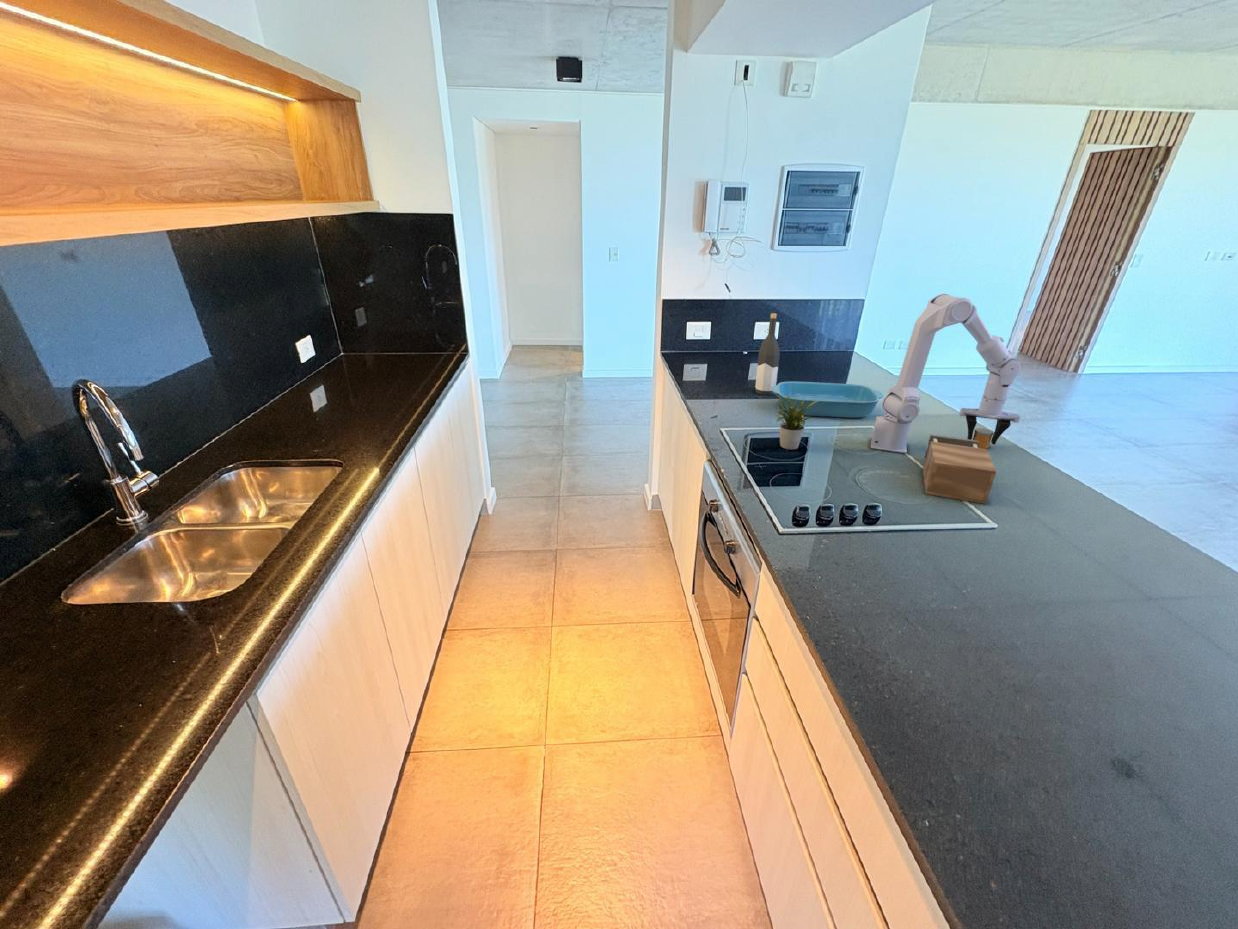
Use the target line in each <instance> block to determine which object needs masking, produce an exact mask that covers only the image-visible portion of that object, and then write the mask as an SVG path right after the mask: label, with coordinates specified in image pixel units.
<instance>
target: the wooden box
mask: <svg viewBox="0 0 1238 929" xmlns="http://www.w3.org/2000/svg"><path fill="white" fill-rule="evenodd" d="M996 474H997V470H996V467H995V465H994V462H993V461H992V458H991V455H990V453H989V451H988V448H986V449H982V448H975V447H968V446H960V445H953V444H946V443H939V442H930V446H929V449H928V453H927V457H926V458H925V461H924V465H923V469H922V475H923V482H924V489H925V490H924V491H925V494H926V495H931V496H936V497H943V498H948V499H954V500H960V501H965V502H971V503H975V504H976V503H977V504H983V505H986V504H987V503H988V500H989V496H990V492H991V490H992V486H993V484H994V482H995V477H996Z"/></svg>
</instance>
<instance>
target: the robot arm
mask: <svg viewBox="0 0 1238 929" xmlns="http://www.w3.org/2000/svg"><path fill="white" fill-rule="evenodd" d="M958 324H961V325H962V326H963V327H964V329H966V331H967V332H968V333H969V334H970V335H971V336H972V338H973V340H975V341H976V342H977V343H976V346H975V349H976V351H977V352H978V354H979V356H980V357H981V358H982V359H983V361H984V362H985V370H986V371H987V372H989V374H988V377H987V380H986V384H985V387H984V390H983V393H982V397H981V400H980V403H979V407H978V408H969V407H968V408H967V407H960V409H959V413H958V415H959V416H960V417H965V419H966V425H967V438H966V439H970V440H972V439H973V436H974V431H975V429H976V426H977V423H978V421H977V418H978V419H979V418H980V419H989V420H996V424H995V429H994V431H993V435H992V437H991V440H990V443H991V445H996V443H997V441H998V439H999V438H1000V437H1001V436H1002V435H1003V434H1004V433H1005V432H1006V430H1008V429H1009V428H1010V427H1011V426H1012V425H1011V424H1012V423H1015V424H1019V423H1020V419H1021V415H1020V414H1018V413H1011V412H1006V411H1004V408H1005V405H1006V402H1007V399H1008V395H1009V392H1010V389H1011V386H1012V384H1013V383H1014V382H1015V379H1016V378H1017V377H1018V376H1019V375H1020V373H1021V372H1022V370H1023V368H1022V366H1021V362H1020V360H1019V359H1018V358H1015V357H1013V356H1012V354H1013V352H1012V350H1010V349H1008V348H1007V347H1006V345H1005V344H1004V342H1005V340H1004V338H1003V337H1001V336H999V335H995V334H993V335H992V334H991V333H990V331H989V329H988V328H987V326H986V325H985V323H984V321H983V319H982V318H981V316H980V315H979V313H978V309H977V306H975V305H974V304H973V302H972V301H971V300H970V298H967V297H959V296H953V295H950V294H948V293H941V294H938V295H936V296H934V297H932V298H931V299H929V300H928V301H927V303H926V308H924V310H923V311H922V312H921V314H920V315H919V316H918V317H917V319H916V320H915V322H914V325H913V328H912V332H911V335H910V339H909V343H908V345H907V348H906V351H905V355H904V359H903V362H902V366H901V369H900V373H899V376H898V380H897V382H896V384H895V385H893V386H891V387H890V388H889V389H888V393H887V394H886V395H885V397H884V398H883V399H882V403H881V406H882V409H883V410H884V413H883V414H884V415H883V416H882V415H881V416H880V415H877V416H876V417H875V422H874V425H873V430H872V433H871V436H870V449H875V450H881V451H888V452H894V453H900V454H907V452H908V450H907V448H908V447H907V441H908V436H909V432H910V428H911V424H912V423H913V421H914V420H915V419H916V418H917V417H918V416H919V414H920V400H921V396H920V392H919V387H920V386H919V385H920V383H921V380H922V377H923V373H924V370H925V367H926V364H927V361H928V357H929V354H930V351H931V348H932V344H933V342H934V339H935V336H936V333H937V332H939V331H941V330H942V329H944V328H946V327H949V326H950V327H951V326H953V325H958ZM1011 422H1012V423H1011Z"/></svg>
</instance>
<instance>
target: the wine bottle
mask: <svg viewBox="0 0 1238 929" xmlns="http://www.w3.org/2000/svg"><path fill="white" fill-rule="evenodd" d="M777 315H778V314H777V313H774V312H773V313H770V317H769V324H768V332H767V335H766V337H765V338H764V340H763V342H762V343H761V345H760V347H759V351H758V356H757V357H758V359H757V366H756V367H757V368H756V376H755V384H754V385H755V386H754V391H755V394H759V395H764V396H770V395H774V394H773V392H772V387H774V386H776V385H777V380H778V372H779V363H780V358H781V357H780V356H781V354H780V353H781V352H780V346H779V343H778V340H777V337H776V327H777V320H778V318H777ZM755 388H756V389H755Z"/></svg>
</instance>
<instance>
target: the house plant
mask: <svg viewBox="0 0 1238 929" xmlns="http://www.w3.org/2000/svg"><path fill="white" fill-rule="evenodd" d="M772 395H776V396H777V397H778V399H779V398H780V399H781V397H780V396H778V394H774V393H773V394H772ZM786 397H787V400H788V404H789V413H788V411H787V409H786V407H785V404H784V402H783V400H782V399H781V401H782V403H781V402H780V401H779V400H776V402H778V403H779V404H778V403H775V402H774V403H772V404H775V405H777V406H778V407H779V408H780V409H778V410H777V411H775V412H776V413H777V414H778V415H780V416H778V418H777V419H776V423H777V422H779V421H782V423H780V424H779V446H780V447H781V448H783V449H786V450H798V448H799V446H800V443H801V440H802V437H803V434H804V431H805V425H806V422H805V421H806V420H808V419H813V416H812V415H802V414H803V413H804V412H805V411H806V410H807V409H808V408H809V407H811V406H812V405H813V404H814V403H816V402H818V401H815V402H813V403H811V404H810V405H808V406H807V407H806V408H804V409H802V410H801V408H802V406H803V404H804V400H805V398H804V399H802V400H803V401H802V403H801V405H800V407H799V409H795V408H796V406H797V404H798V403H797V404H796V403H795V404H796V405H795V406H794V409H793V407H792V403H791V401H790V397H789V396H788V394H787V396H786ZM798 397H799V396H798ZM797 399H798V398H797ZM796 401H797V400H796ZM799 402H800V401H799ZM780 403H781V404H782V406H783V407H784V409H785V410H786V411H785V410H784V409H783V408H782V406H781V404H780ZM800 410H801V411H800ZM784 411H785V412H784Z"/></svg>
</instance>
